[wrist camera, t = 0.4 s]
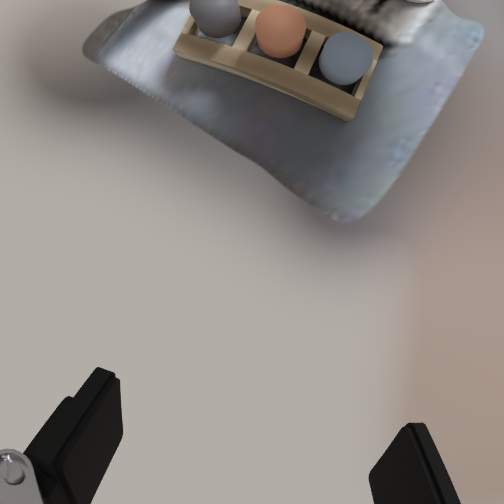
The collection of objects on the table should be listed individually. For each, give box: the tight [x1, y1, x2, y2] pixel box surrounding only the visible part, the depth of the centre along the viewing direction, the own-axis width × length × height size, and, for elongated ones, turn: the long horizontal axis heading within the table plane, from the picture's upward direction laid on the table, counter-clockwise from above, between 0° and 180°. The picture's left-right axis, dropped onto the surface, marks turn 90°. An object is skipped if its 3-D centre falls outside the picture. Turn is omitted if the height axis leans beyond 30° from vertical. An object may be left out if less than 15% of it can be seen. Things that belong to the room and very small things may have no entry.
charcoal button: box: [189, 0, 241, 38], centre depth 26 cm, size 5×5×4 cm
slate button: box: [319, 32, 373, 85], centre depth 27 cm, size 5×5×4 cm
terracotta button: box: [255, 5, 306, 58], centre depth 26 cm, size 5×5×4 cm
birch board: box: [173, 0, 383, 122], centre depth 30 cm, size 10×21×3 cm, turn 67°
